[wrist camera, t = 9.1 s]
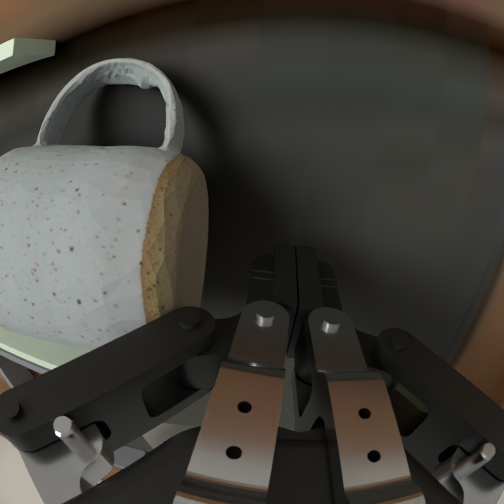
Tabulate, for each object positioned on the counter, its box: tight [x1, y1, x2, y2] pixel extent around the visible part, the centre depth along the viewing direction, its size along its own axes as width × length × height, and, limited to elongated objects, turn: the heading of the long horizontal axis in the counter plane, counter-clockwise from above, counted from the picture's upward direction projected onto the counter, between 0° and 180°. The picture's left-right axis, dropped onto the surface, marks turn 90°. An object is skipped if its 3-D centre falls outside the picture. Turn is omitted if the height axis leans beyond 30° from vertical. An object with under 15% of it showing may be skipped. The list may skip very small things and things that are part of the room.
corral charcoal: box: [0, 348, 146, 469], centre depth 23 cm, size 12×20×3 cm, turn 175°
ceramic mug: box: [0, 58, 209, 350], centre depth 9 cm, size 11×8×8 cm
